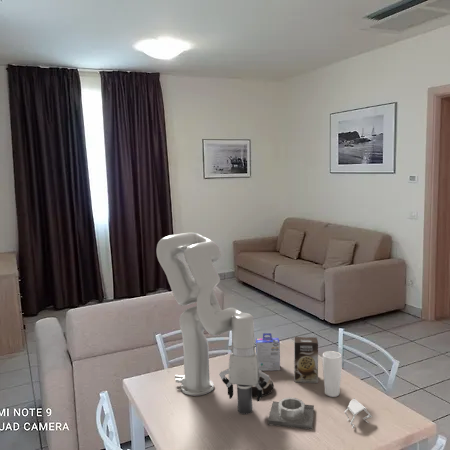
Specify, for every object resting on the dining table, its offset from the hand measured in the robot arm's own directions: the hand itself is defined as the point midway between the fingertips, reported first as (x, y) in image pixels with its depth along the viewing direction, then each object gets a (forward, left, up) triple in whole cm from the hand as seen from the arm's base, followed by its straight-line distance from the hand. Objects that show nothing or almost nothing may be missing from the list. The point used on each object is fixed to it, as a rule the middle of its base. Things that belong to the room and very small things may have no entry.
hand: (245, 398), depth 148 cm
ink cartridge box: (+3, +34, -5) cm, 35 cm away
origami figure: (+37, +2, -5) cm, 37 cm away
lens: (0, 0, -5) cm, 5 cm away
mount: (+16, -1, -5) cm, 16 cm away
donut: (+2, +15, -5) cm, 16 cm away
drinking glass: (+29, +17, -5) cm, 34 cm away
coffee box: (+19, +27, -5) cm, 33 cm away
